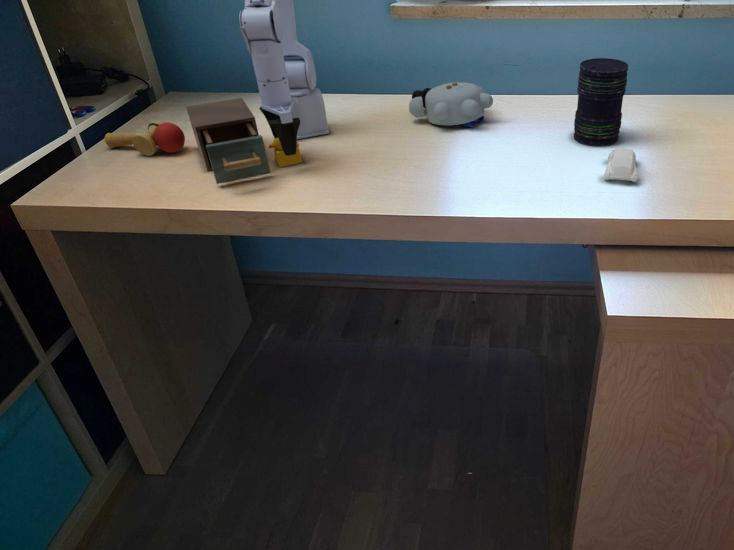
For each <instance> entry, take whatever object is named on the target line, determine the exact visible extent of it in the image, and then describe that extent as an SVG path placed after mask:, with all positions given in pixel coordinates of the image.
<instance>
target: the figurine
mask: <svg viewBox="0 0 734 550" xmlns="http://www.w3.org/2000/svg"><path fill="white" fill-rule="evenodd" d="M493 104H494V98H493V97H492V95H491V94H489V93H486V92H485V89H484V88H482V87H481V86H479V85H477V84H475V83H471V82H464V81H463V82H461V81H459V82H458V81H453V82H447V83H444V84H440V85H437V86H435V87H433V88H431V87H426V88H424V89H423V90H420V89H416V90H414V91H413V92H412V95H411V100H410V101H409V103H408V109H409V110H408V111H409V113H410V115H411V116H413V117H414V118H424V117H425V114H426V118H427V121H428V122H429V123H430V124H433V125H438V126H457V125H462V126H463V127H465V128H466V127H467V128H472V127H473V126H474V124H475V123H477V122H484V121H485V116H484V113H485V110H486V109H490V108H491V107H492V106H493Z"/></svg>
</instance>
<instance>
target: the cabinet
mask: <svg viewBox="0 0 734 550" xmlns="http://www.w3.org/2000/svg"><path fill="white" fill-rule="evenodd" d="M185 108H186V111H187V115H188V118H189V122H190V125H191V128H192V132H193V135H194V139H195V143H196V145H197V149H198V152H199V153H200V156H201V158H202V159H201V160H202V161H203V163H204V166H205V168H206V171H207V172H210V171H213V169H212V166H211V162H210V159H209V155H208V152H207V148H206V144H205V140H204V137H203V133H202V129H208V128H214V127H220V126H226V125H232V124H238V123H244V122H249V123H250V124H251V126H252V128H253V129H254V131H255V132H256V134H257V136H259V135H260V134H259V130H258V126H257V125H258V124H257V120H256V117H255V115H254V114H253V112H252V111H251V109H250V108H249V106H248V105H247V103H246V102H245V100H244V99H243V97H239V98H233V99H231V98H230V99H226V100H219V101H213V102H207V103H199V104H194V105H187V106H186V107H185Z"/></svg>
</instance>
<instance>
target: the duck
mask: <svg viewBox="0 0 734 550" xmlns="http://www.w3.org/2000/svg"><path fill="white" fill-rule="evenodd" d="M267 146H268V148H269V149H272V150H273V153H274V158H275V162H276V164H277V165H278V166H279V168H283V167H288V166H292V165H297V164H302V163H303V160H302V155H301V149H300V144H299V142H297V149H296V154H294V155H289V156H286V155H285V153H284V151H283V149H282V146H281V144H280V141H279V138H273V140H272V143H270V144H268V145H267Z"/></svg>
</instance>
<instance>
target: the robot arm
mask: <svg viewBox="0 0 734 550" xmlns="http://www.w3.org/2000/svg"><path fill="white" fill-rule="evenodd" d="M295 15H296V14H295V6H294V0H244V8H243V10H242V9H241V10H240V11H239V27H240V31H241V35H242V38H243V40H244V42H245V45H246V49H247V52H248V54H250V56H251V61H252V66H253V70H254V73H255V80H256V83H257V88H258V93H259V96H260V107H259V108H258V109H259V111H260V112H261V113H262V114H263V116H264V117H265V119H266V122H267V124H268V126H269V128H270V130H271V133H272V136H273V139H275V138H279V141H280V144H281V146H282V149H283V151H284V153H285V155H286V156H289V155H294V154H296V149H297V143H298V140H301V139H305V138H311V137H318V136H323V135H327V134H330V129H329V125H328V117H327V112H326V105H325V100H324V97H323V94H322V92H321V89H320V88H317V71H316V66H315V63H314V56H313V53H312V52H311V50H310V49H309V48H307V47H306V46H305V45H304V44H302V43H301V42H299V40H298V35H297V25H296V16H295Z"/></svg>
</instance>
